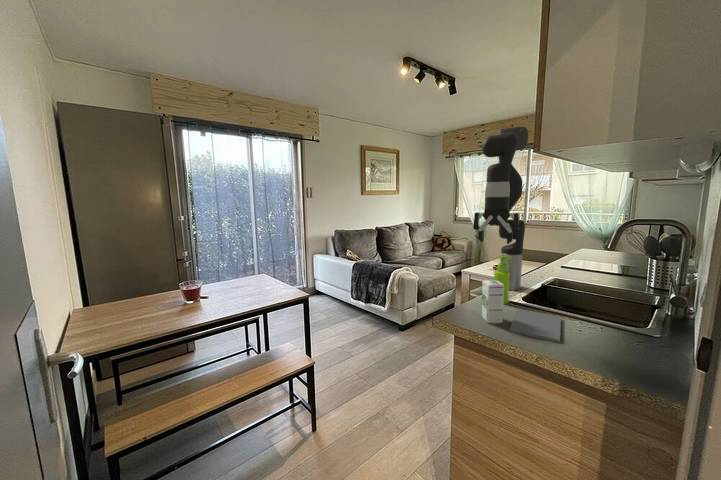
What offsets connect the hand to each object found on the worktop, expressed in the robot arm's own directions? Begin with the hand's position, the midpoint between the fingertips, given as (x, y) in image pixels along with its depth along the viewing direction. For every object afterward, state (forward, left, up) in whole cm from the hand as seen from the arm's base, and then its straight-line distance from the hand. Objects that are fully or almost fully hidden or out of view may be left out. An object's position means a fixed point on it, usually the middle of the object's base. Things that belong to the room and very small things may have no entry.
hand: (494, 242), depth 100 cm
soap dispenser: (-23, 0, -30) cm, 37 cm away
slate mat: (-5, +14, -29) cm, 33 cm away
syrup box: (-1, 0, -30) cm, 30 cm away
